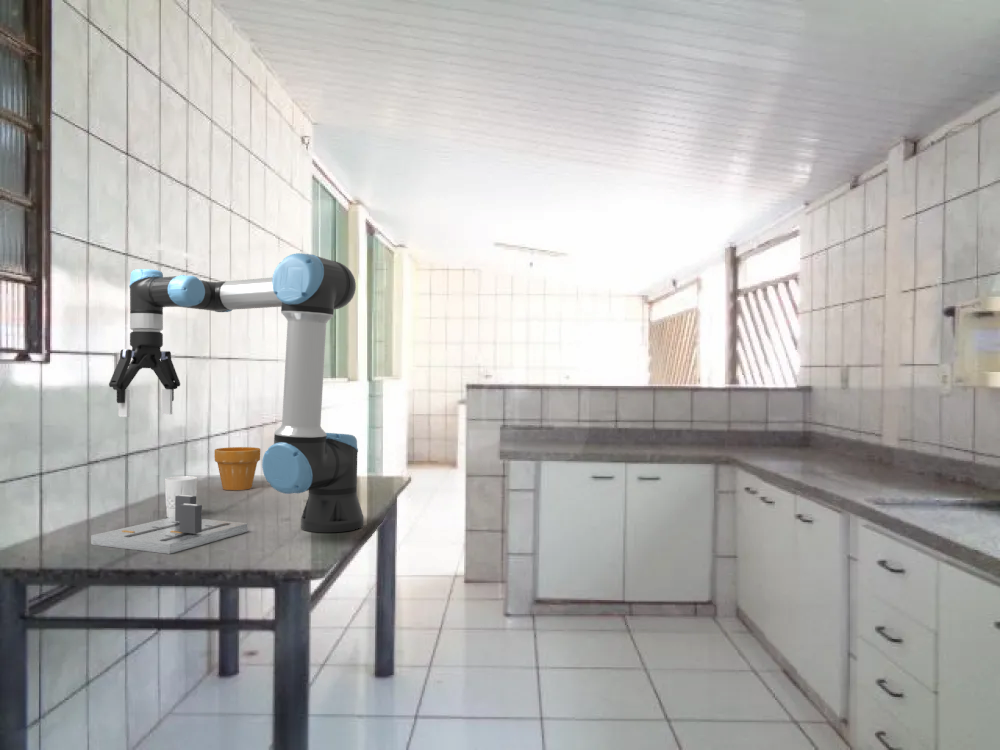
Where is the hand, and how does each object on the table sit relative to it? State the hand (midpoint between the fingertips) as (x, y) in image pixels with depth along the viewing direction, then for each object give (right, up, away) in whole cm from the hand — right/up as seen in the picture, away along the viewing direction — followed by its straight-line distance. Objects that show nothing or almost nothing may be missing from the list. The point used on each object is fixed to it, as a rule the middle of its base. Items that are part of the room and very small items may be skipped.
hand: (146, 415), depth 187 cm
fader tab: (+15, -25, -11) cm, 31 cm away
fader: (+21, -25, -23) cm, 39 cm away
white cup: (+6, -27, +8) cm, 29 cm away
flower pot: (+3, -27, +55) cm, 62 cm away
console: (+15, -27, -18) cm, 36 cm away
